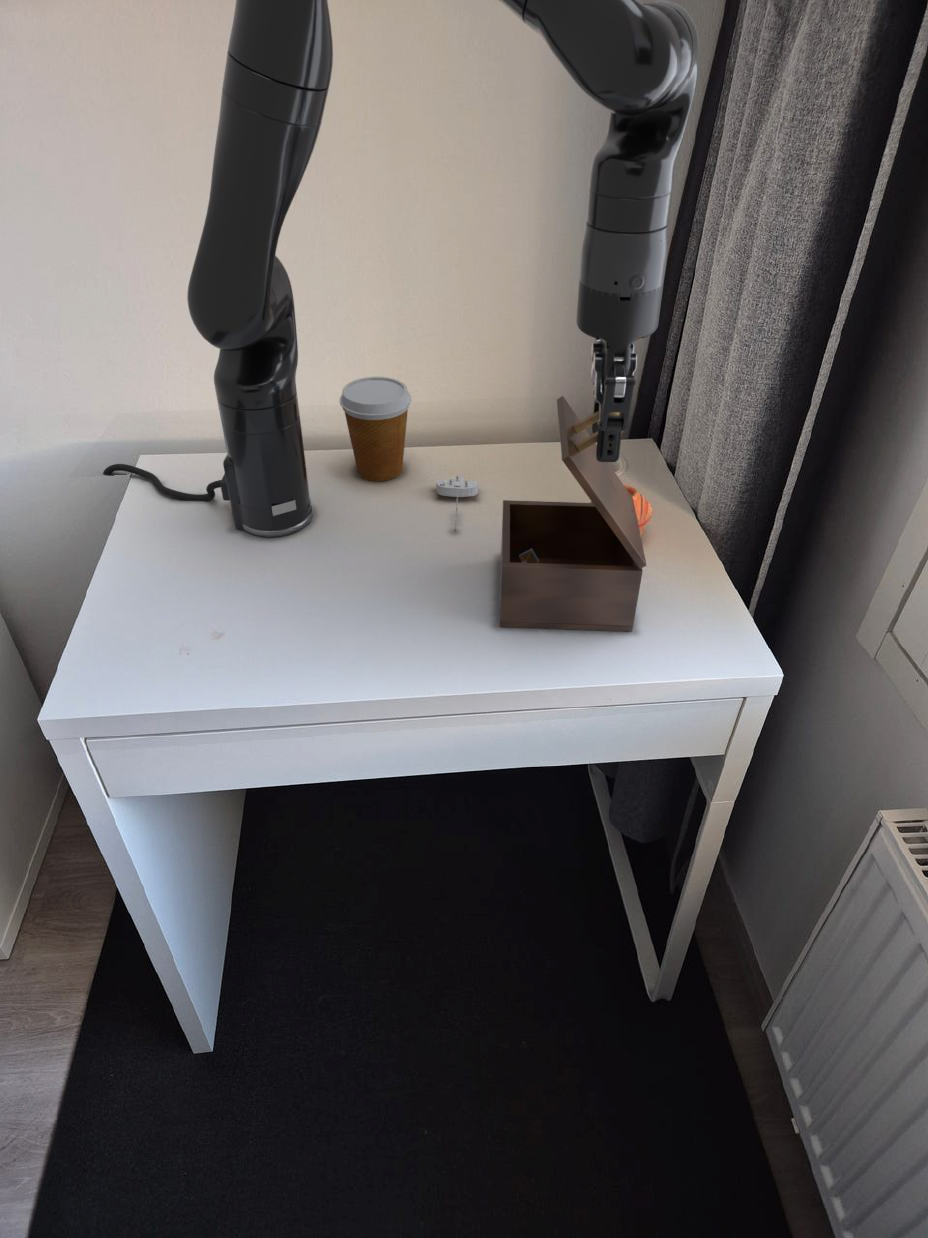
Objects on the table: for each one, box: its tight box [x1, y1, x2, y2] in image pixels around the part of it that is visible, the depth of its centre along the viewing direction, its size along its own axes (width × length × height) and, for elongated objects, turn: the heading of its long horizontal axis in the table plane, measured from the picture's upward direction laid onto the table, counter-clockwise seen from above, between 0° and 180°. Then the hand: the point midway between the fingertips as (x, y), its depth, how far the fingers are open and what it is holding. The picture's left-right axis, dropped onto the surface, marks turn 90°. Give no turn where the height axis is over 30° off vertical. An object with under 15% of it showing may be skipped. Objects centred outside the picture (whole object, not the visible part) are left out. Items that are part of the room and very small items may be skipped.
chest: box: [498, 499, 644, 632], centre depth 98 cm, size 15×13×8 cm
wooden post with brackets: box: [519, 549, 539, 563], centre depth 99 cm, size 2×8×4 cm
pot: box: [589, 484, 653, 536], centre depth 108 cm, size 8×8×7 cm
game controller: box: [436, 475, 480, 533], centre depth 114 cm, size 6×12×3 cm, turn 16°
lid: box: [556, 395, 648, 569], centre depth 90 cm, size 15×13×6 cm
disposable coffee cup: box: [339, 376, 412, 482], centre depth 118 cm, size 10×10×12 cm
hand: (604, 445), depth 88 cm, fingers closed on lid, 5 cm apart
